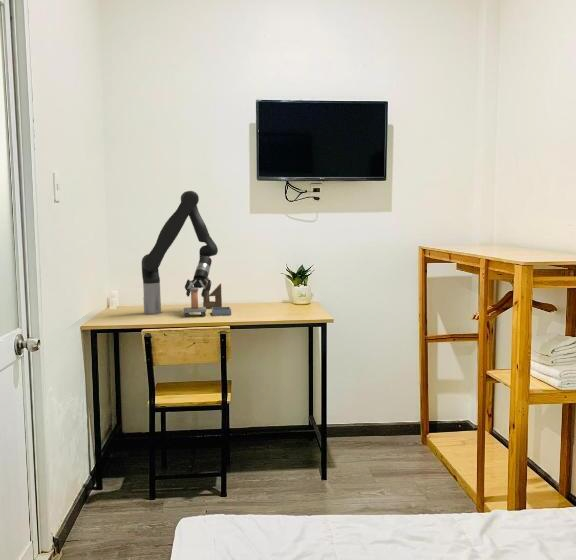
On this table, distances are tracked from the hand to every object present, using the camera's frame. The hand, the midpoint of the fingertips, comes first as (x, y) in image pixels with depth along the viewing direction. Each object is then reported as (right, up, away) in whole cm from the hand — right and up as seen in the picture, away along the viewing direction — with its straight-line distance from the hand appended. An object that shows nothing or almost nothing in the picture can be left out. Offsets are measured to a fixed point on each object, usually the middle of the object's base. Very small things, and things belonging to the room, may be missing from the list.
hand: (195, 295), depth 321 cm
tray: (+14, -10, +5) cm, 18 cm away
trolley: (0, -11, +1) cm, 11 cm away
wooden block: (+6, -8, +26) cm, 28 cm away
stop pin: (0, -7, 0) cm, 7 cm away
